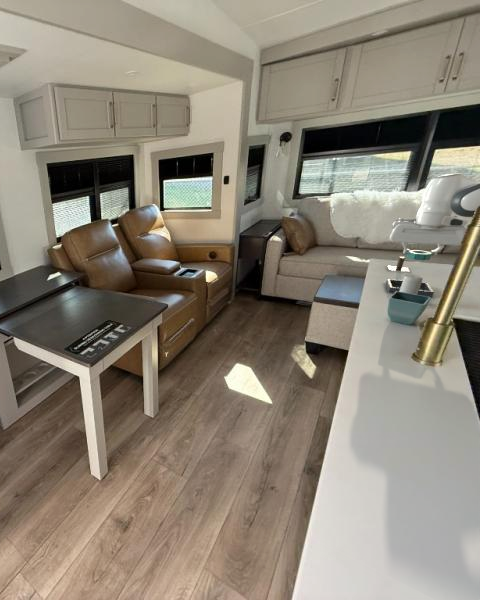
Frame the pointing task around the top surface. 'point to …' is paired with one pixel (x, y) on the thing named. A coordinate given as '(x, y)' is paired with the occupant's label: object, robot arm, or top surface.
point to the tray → (396, 284)
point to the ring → (419, 255)
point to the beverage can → (411, 284)
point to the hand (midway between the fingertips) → (419, 254)
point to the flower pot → (406, 307)
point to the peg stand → (399, 266)
